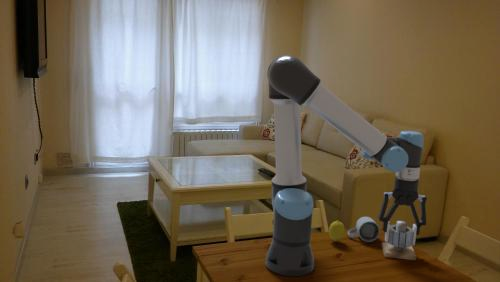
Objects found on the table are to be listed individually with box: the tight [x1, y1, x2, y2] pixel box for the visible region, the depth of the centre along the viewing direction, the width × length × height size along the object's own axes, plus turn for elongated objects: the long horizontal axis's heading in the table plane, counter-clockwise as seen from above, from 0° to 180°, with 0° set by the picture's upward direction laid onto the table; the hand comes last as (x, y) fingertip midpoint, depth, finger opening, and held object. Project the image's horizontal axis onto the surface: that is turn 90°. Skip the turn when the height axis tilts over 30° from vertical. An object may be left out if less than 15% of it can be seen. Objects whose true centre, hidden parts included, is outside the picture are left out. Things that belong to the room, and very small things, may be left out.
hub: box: [387, 223, 414, 248], centre depth 158 cm, size 8×8×5 cm
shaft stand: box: [381, 220, 417, 261], centre depth 158 cm, size 10×9×11 cm
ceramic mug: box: [347, 216, 381, 243], centre depth 170 cm, size 11×8×8 cm
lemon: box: [328, 220, 346, 243], centre depth 165 cm, size 6×6×8 cm
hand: (399, 242), depth 158 cm, fingers closed on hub, 8 cm apart
